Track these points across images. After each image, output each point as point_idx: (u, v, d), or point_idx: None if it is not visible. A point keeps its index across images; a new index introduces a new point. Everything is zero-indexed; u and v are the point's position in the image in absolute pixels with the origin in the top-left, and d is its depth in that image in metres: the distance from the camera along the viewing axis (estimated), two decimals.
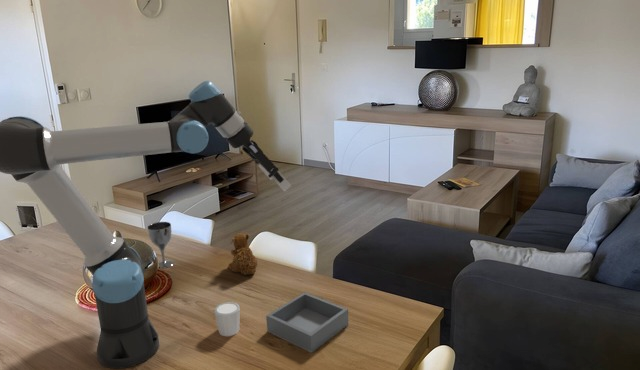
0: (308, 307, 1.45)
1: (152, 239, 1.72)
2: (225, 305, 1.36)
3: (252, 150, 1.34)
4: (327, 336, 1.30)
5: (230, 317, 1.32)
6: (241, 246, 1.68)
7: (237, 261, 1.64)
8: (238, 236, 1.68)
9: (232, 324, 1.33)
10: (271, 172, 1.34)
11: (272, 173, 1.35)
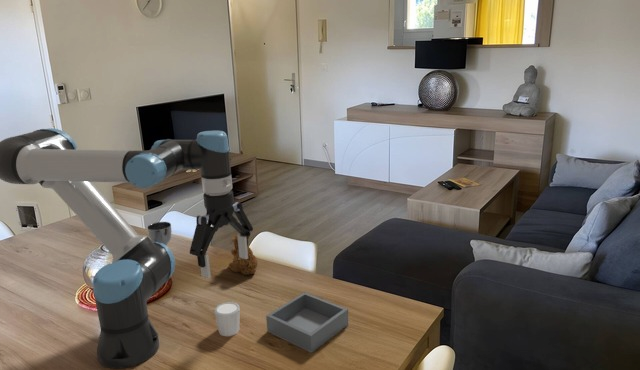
0: (308, 307, 1.45)
1: (152, 239, 1.72)
2: (225, 305, 1.36)
3: (198, 219, 1.22)
4: (327, 336, 1.30)
5: (230, 317, 1.32)
6: None
7: (237, 261, 1.64)
8: None
9: (232, 324, 1.33)
10: (191, 251, 1.22)
11: (190, 252, 1.22)
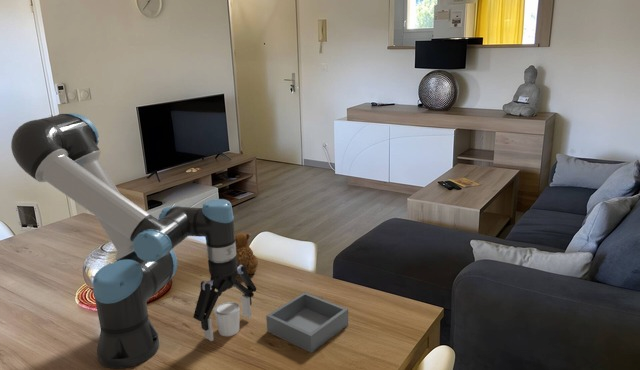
0: (308, 307, 1.45)
1: None
2: (225, 305, 1.36)
3: (202, 285, 1.27)
4: (327, 336, 1.30)
5: (230, 317, 1.32)
6: (242, 246, 1.69)
7: (238, 260, 1.64)
8: (239, 236, 1.69)
9: (232, 324, 1.33)
10: (194, 315, 1.27)
11: (194, 317, 1.27)
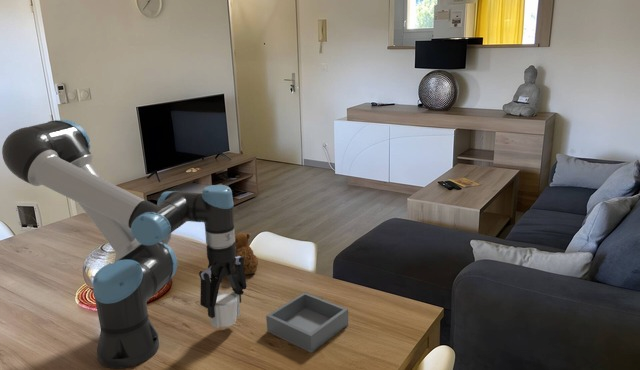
0: (308, 307, 1.45)
1: None
2: (222, 296, 1.35)
3: (201, 276, 1.26)
4: (327, 336, 1.30)
5: (227, 307, 1.31)
6: (242, 245, 1.69)
7: None
8: (239, 235, 1.69)
9: (229, 315, 1.32)
10: (201, 302, 1.28)
11: (201, 304, 1.28)
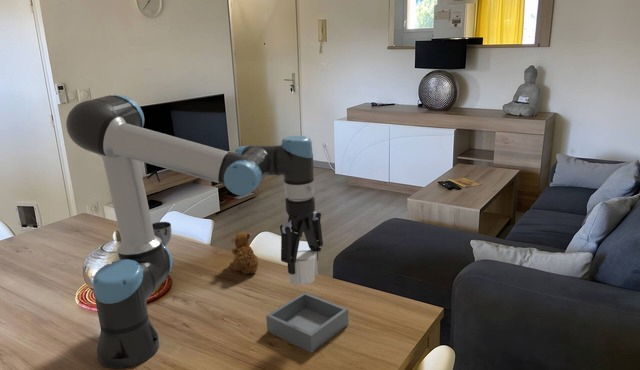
0: (308, 307, 1.45)
1: None
2: (300, 253, 1.31)
3: (282, 230, 1.23)
4: (327, 336, 1.30)
5: (307, 263, 1.27)
6: (242, 245, 1.69)
7: (238, 260, 1.64)
8: (239, 235, 1.69)
9: (309, 271, 1.28)
10: (282, 258, 1.25)
11: (282, 260, 1.25)
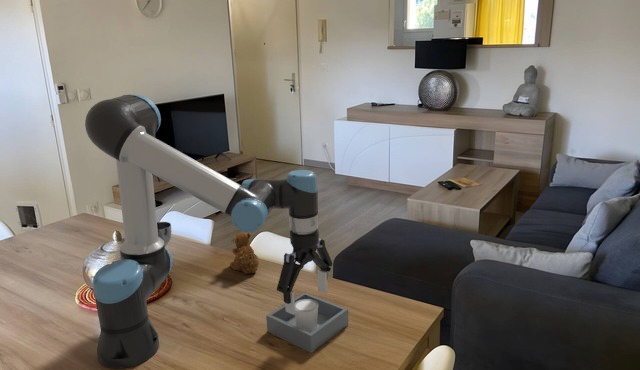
0: None
1: None
2: (303, 302, 1.35)
3: (285, 257, 1.25)
4: (327, 336, 1.30)
5: (310, 314, 1.31)
6: (243, 245, 1.69)
7: (239, 260, 1.65)
8: (240, 235, 1.69)
9: (312, 321, 1.32)
10: (278, 288, 1.25)
11: (278, 289, 1.25)
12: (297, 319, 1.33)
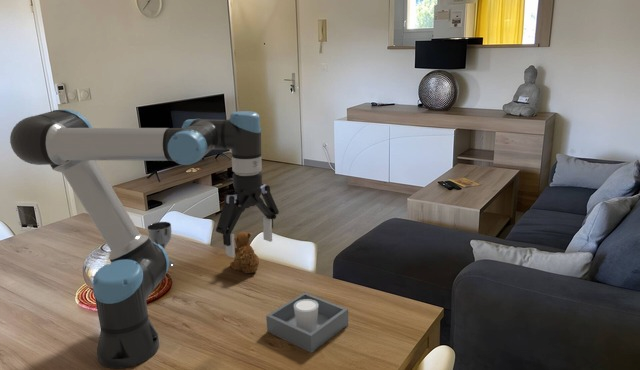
0: None
1: (152, 239, 1.72)
2: (303, 302, 1.35)
3: (226, 198, 1.23)
4: (327, 336, 1.30)
5: (311, 314, 1.31)
6: (243, 245, 1.70)
7: (239, 259, 1.65)
8: (240, 235, 1.70)
9: (312, 321, 1.32)
10: (217, 229, 1.23)
11: (217, 230, 1.23)
12: (297, 319, 1.33)
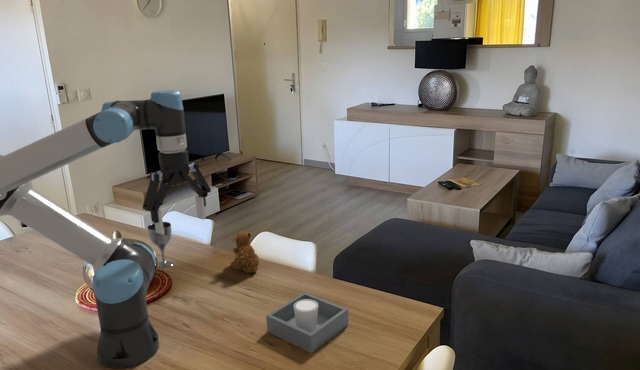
0: None
1: (152, 239, 1.72)
2: (303, 302, 1.35)
3: (151, 176, 1.26)
4: (327, 336, 1.30)
5: (310, 314, 1.31)
6: (243, 244, 1.70)
7: (239, 259, 1.65)
8: (240, 234, 1.70)
9: (312, 321, 1.32)
10: (143, 206, 1.26)
11: (143, 207, 1.26)
12: (297, 319, 1.33)
